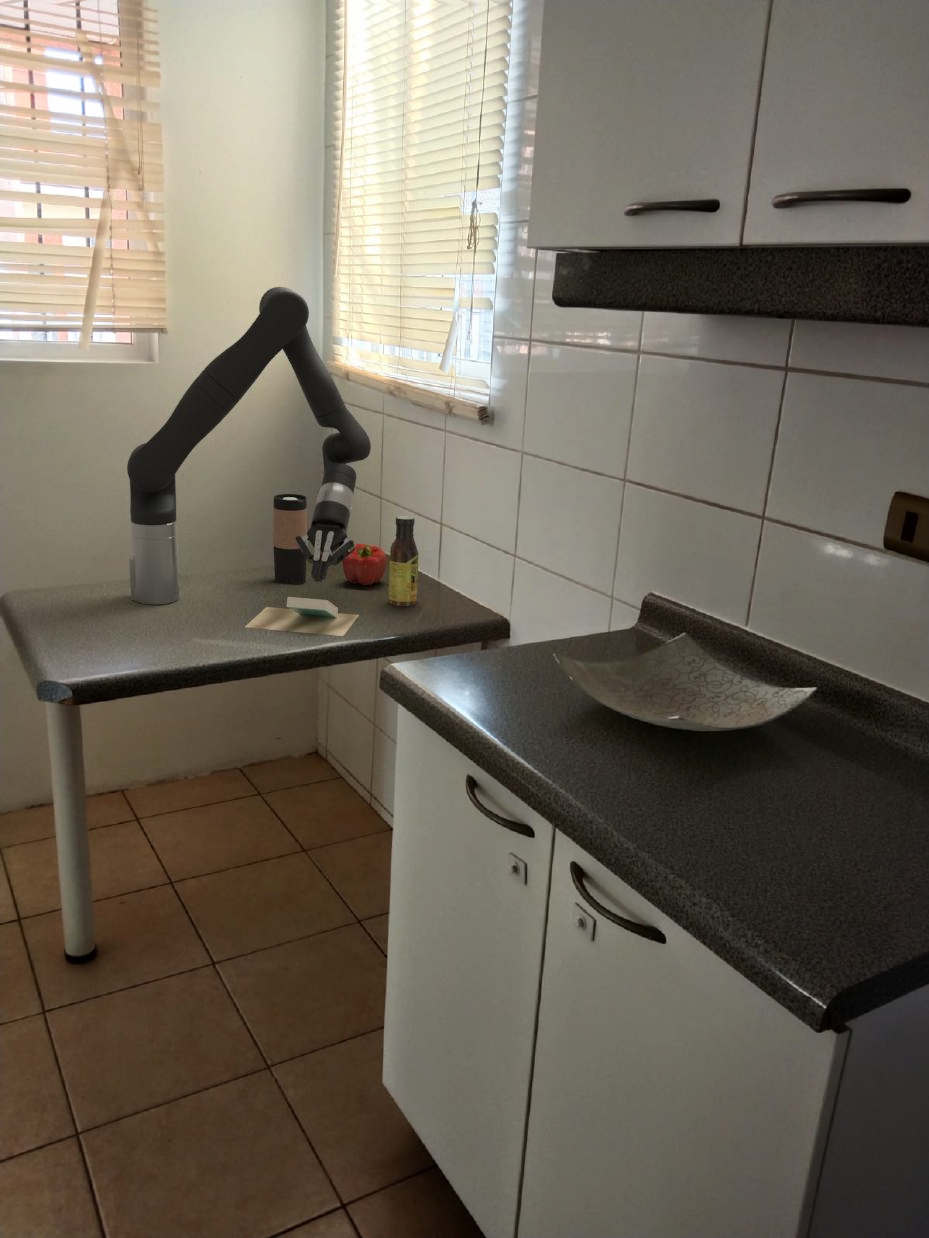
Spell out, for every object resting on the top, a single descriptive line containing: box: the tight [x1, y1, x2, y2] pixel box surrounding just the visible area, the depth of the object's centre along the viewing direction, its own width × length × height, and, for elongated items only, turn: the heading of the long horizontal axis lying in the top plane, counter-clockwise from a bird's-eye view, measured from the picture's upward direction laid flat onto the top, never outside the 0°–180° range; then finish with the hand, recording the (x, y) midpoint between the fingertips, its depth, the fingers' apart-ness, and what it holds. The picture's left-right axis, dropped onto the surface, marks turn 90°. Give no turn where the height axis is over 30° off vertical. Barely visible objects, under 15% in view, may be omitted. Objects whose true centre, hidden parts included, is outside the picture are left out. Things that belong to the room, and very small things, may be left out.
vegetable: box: [341, 543, 388, 586], centre depth 235 cm, size 11×10×10 cm
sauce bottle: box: [388, 515, 419, 607], centre depth 218 cm, size 6×6×20 cm
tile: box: [286, 596, 339, 618], centre depth 203 cm, size 8×2×10 cm
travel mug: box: [272, 493, 308, 586], centre depth 232 cm, size 8×8×20 cm
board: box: [244, 606, 360, 637], centre depth 204 cm, size 20×14×1 cm
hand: (317, 579), depth 205 cm, fingers closed
